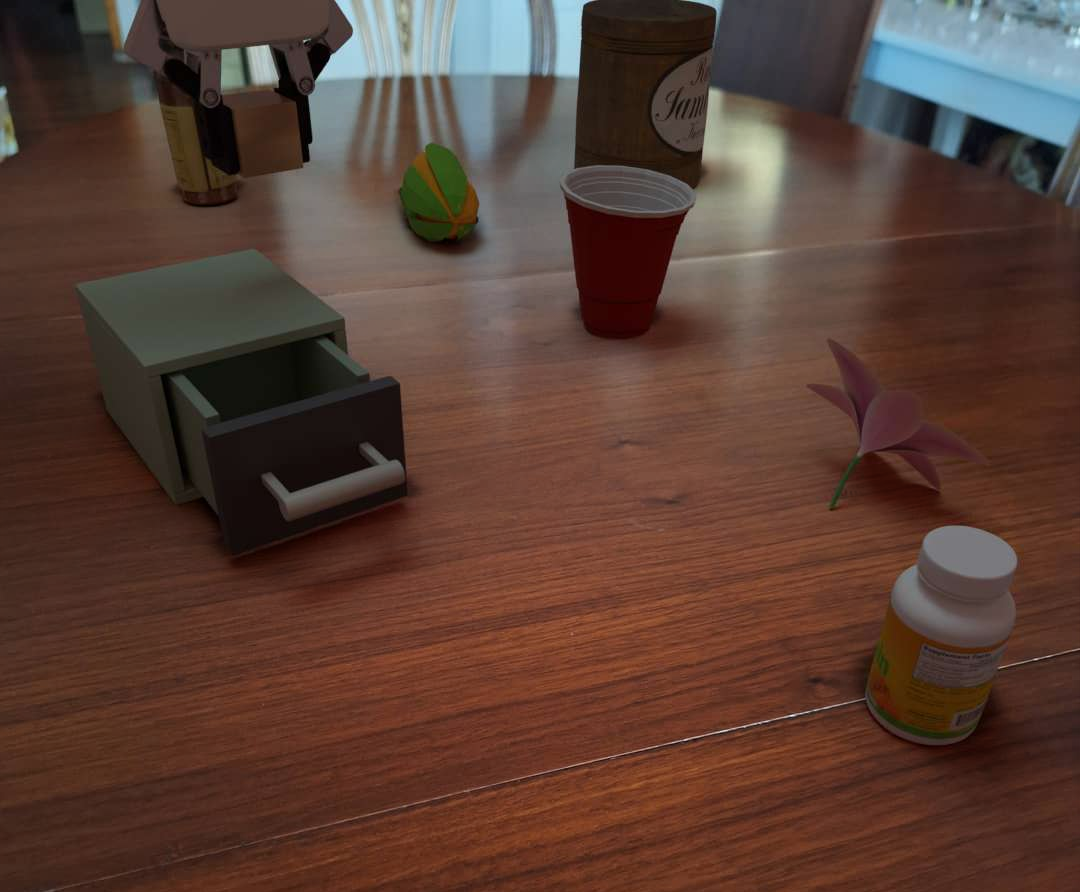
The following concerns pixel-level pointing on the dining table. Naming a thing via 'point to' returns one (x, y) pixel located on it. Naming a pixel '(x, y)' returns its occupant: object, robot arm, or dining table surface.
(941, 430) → the lily
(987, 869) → the dining table surface
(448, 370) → the dining table surface
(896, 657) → the supplement bottle
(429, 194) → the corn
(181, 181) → the sauce bottle
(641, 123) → the wooden container
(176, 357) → the cabinet
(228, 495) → the drawer
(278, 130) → the block
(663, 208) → the plastic cup
